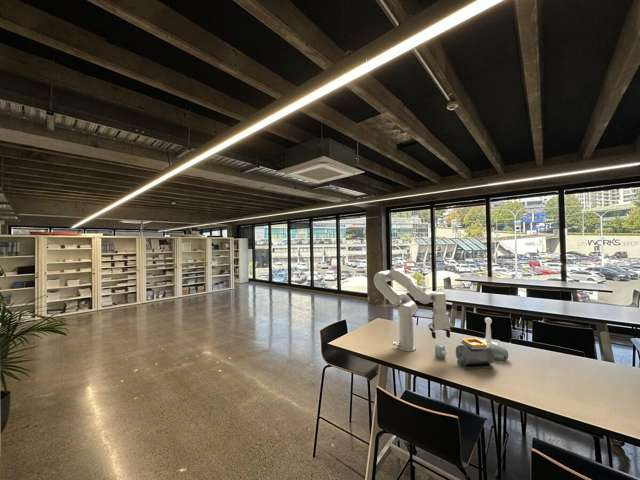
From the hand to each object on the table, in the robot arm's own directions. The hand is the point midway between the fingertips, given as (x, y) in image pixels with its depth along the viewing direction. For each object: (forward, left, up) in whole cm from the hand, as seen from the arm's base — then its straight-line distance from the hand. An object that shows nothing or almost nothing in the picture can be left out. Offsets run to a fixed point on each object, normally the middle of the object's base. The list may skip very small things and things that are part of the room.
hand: (441, 337), depth 173 cm
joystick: (+44, +16, -13) cm, 49 cm away
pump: (-1, -1, -13) cm, 13 cm away
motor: (+13, -13, -13) cm, 23 cm away
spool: (+33, -5, -13) cm, 36 cm away
